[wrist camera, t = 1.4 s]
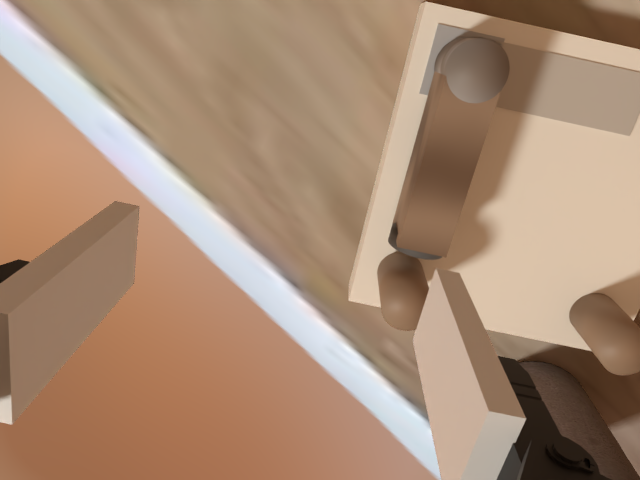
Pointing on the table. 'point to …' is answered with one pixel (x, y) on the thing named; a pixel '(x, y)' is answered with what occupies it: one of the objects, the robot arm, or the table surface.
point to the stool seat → (526, 193)
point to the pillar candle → (579, 419)
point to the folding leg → (448, 145)
